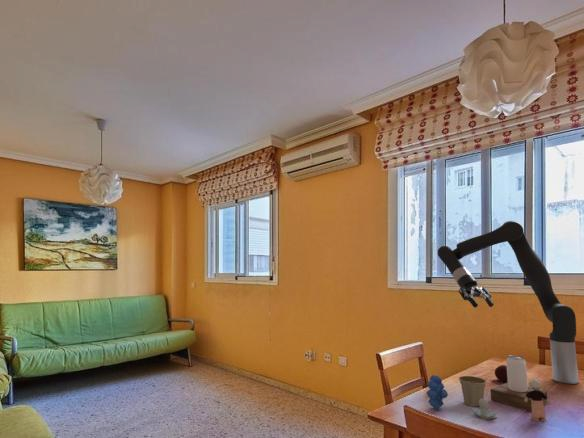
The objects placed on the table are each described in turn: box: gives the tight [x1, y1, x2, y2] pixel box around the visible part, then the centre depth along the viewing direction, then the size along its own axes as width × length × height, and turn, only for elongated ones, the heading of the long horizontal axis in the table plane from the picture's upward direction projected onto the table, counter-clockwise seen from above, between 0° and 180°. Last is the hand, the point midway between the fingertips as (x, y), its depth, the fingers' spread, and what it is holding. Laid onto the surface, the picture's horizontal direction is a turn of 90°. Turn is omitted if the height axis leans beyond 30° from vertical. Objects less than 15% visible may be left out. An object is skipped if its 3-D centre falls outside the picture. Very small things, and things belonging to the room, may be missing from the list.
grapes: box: [426, 374, 449, 411], centre depth 135 cm, size 12×7×12 cm, turn 139°
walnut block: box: [490, 382, 548, 412], centre depth 143 cm, size 14×14×4 cm
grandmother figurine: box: [524, 378, 551, 422], centre depth 127 cm, size 8×4×13 cm, turn 92°
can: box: [505, 354, 529, 393], centre depth 145 cm, size 6×6×12 cm
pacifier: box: [471, 398, 497, 420], centre depth 129 cm, size 7×6×6 cm
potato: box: [494, 364, 508, 383], centre depth 169 cm, size 7×8×7 cm
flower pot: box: [458, 375, 488, 407], centre depth 141 cm, size 9×9×9 cm
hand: (484, 306), depth 169 cm, fingers open, 8 cm apart
